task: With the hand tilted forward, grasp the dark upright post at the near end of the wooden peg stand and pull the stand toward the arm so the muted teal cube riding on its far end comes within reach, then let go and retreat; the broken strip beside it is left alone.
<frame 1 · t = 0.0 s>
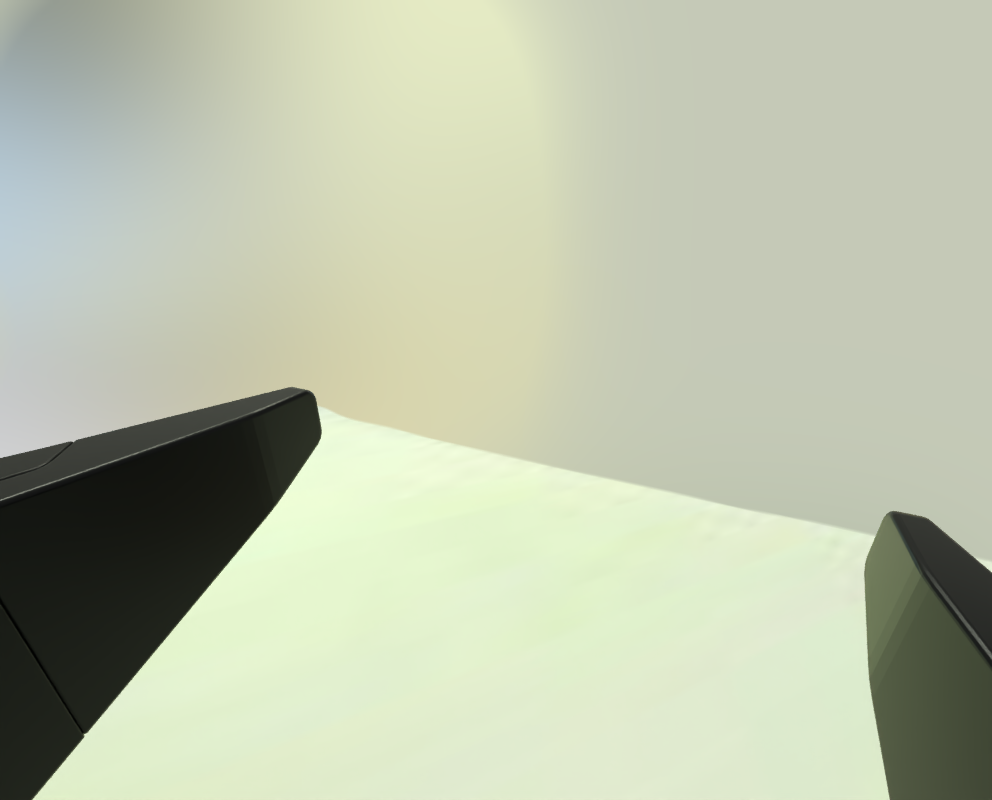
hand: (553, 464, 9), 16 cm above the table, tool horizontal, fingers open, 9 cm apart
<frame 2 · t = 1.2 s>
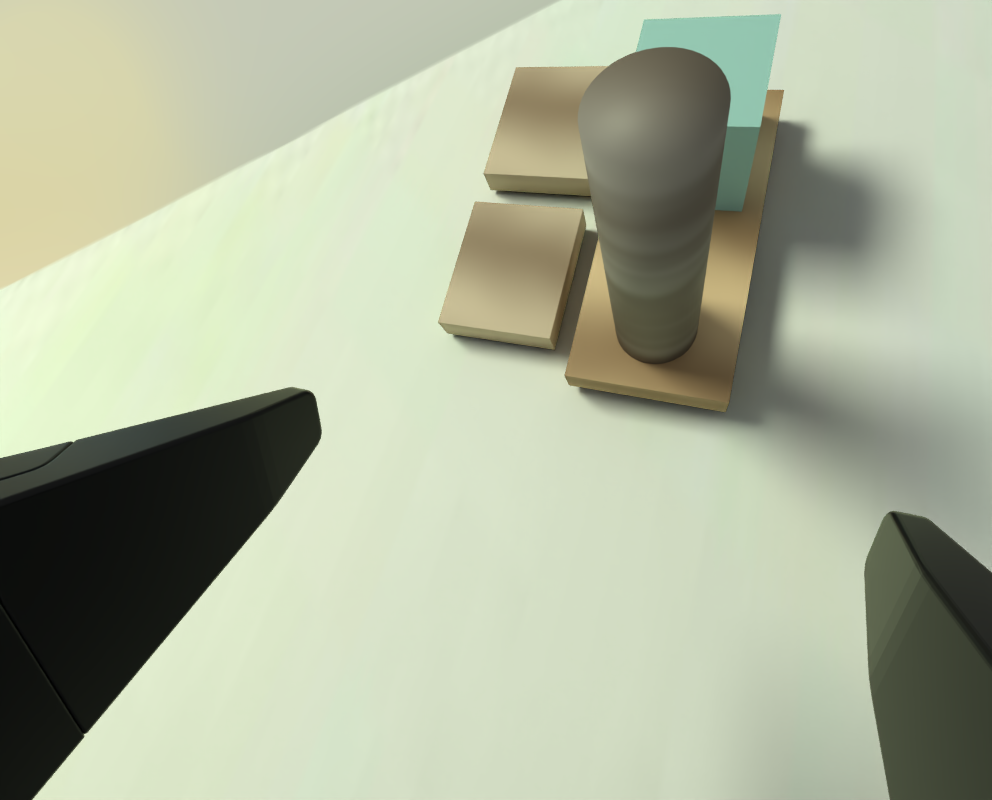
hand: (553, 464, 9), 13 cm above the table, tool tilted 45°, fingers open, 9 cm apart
cube: (691, 160, 23), point 1 cm above the table, touching wooden peg stand
broken strip: (505, 320, 25), on the table
wooden peg stand: (680, 142, 18), point 6 cm above the table, slide at 0.0 cm, touching cube
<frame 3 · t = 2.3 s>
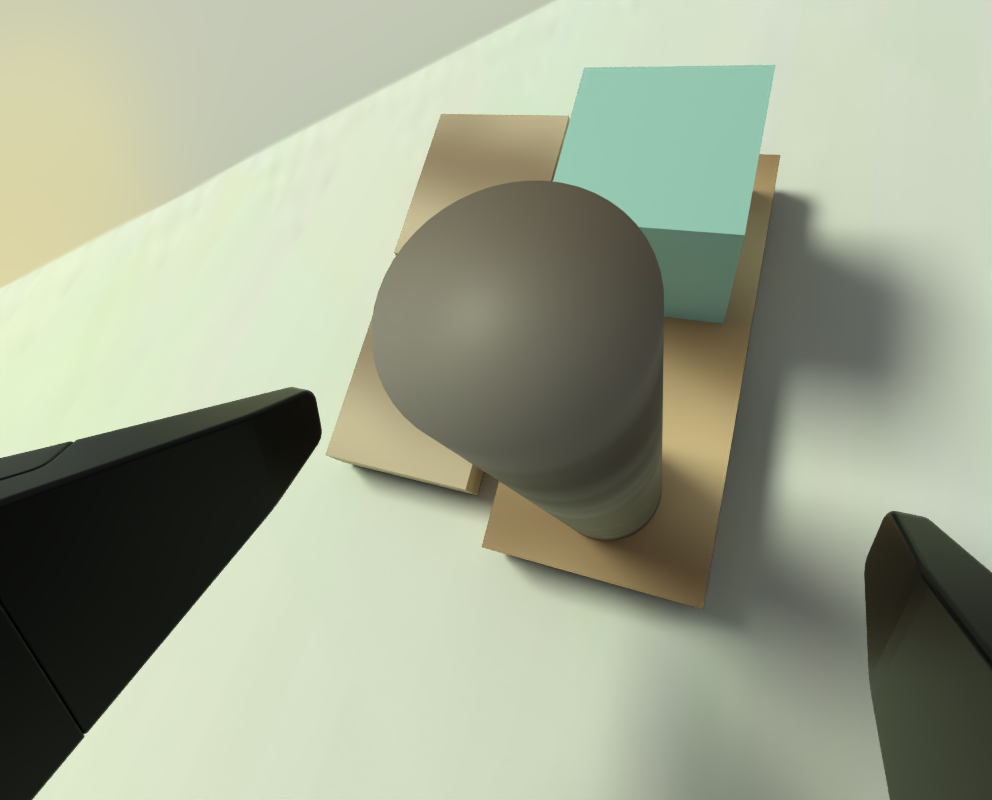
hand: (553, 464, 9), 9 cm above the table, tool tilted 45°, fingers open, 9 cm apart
cube: (657, 247, 18), point 1 cm above the table, touching wooden peg stand
broken strip: (416, 449, 19), on the table
wooden peg stand: (627, 256, 12), point 6 cm above the table, slide at 0.0 cm, touching cube
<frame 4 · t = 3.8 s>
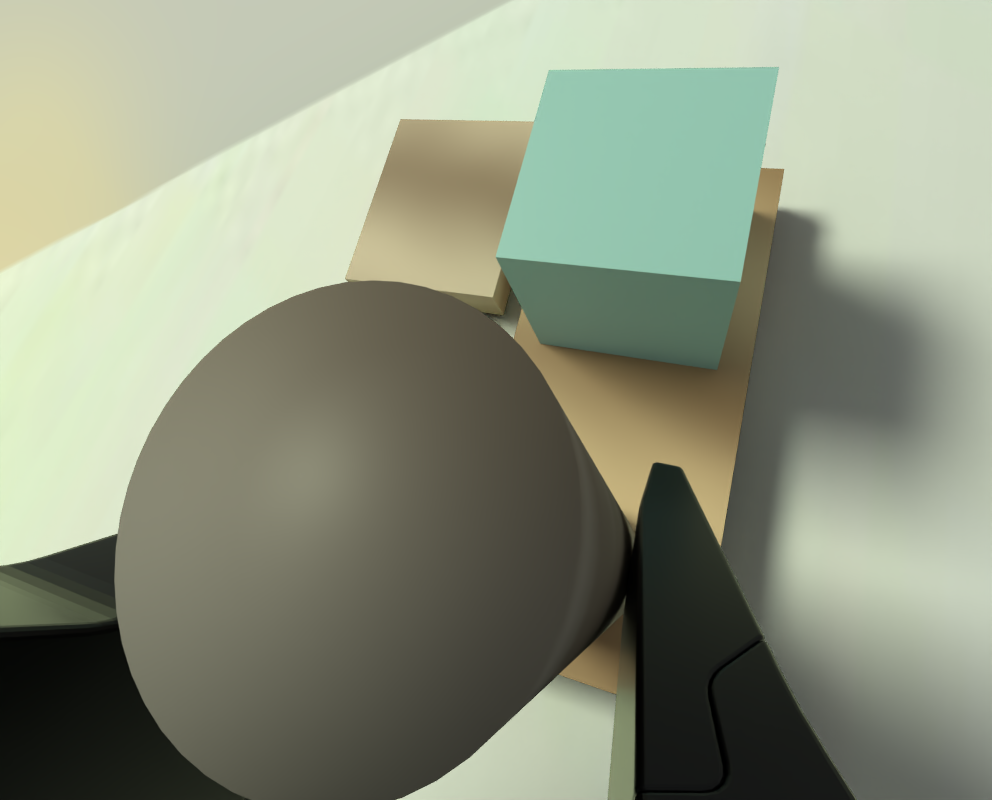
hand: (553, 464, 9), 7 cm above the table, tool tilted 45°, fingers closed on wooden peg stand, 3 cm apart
cube: (641, 277, 15), point 1 cm above the table, touching wooden peg stand
broken strip: (368, 505, 17), on the table
wooden peg stand: (594, 307, 10), point 6 cm above the table, slide at 0.0 cm, touching cube, gripper
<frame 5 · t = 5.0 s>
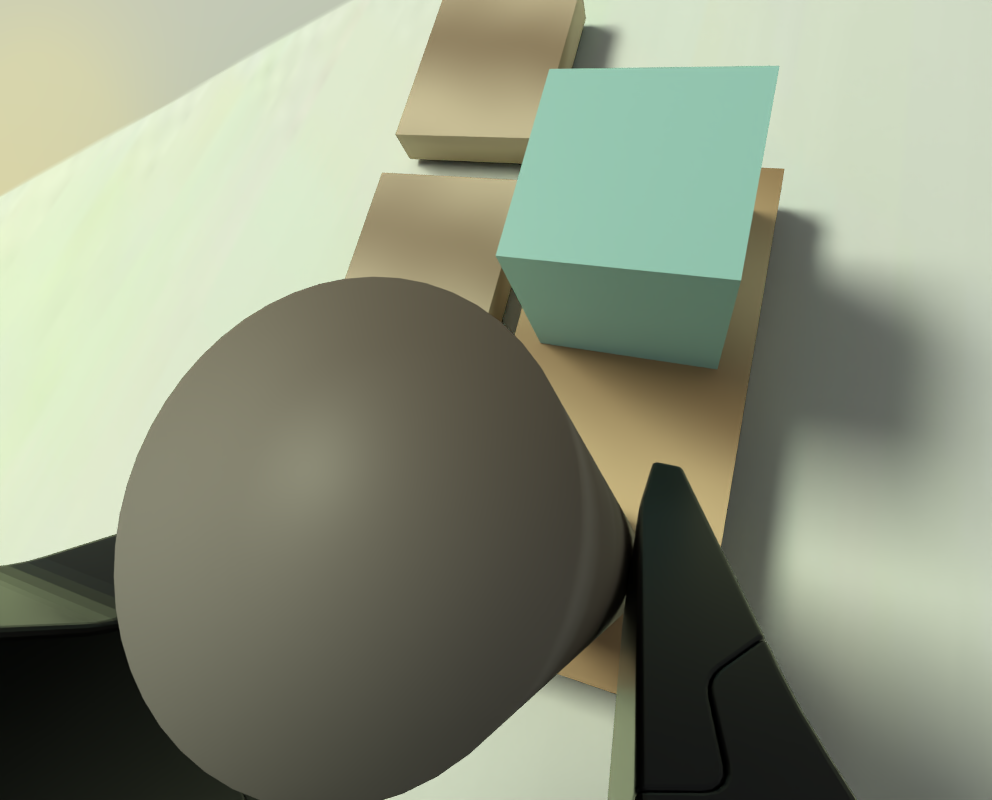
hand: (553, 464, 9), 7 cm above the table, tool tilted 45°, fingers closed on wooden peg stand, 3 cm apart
cube: (641, 276, 15), point 1 cm above the table, touching wooden peg stand
broken strip: (420, 336, 18), on the table
wooden peg stand: (594, 306, 10), point 6 cm above the table, slide at 5.4 cm, touching cube, gripper
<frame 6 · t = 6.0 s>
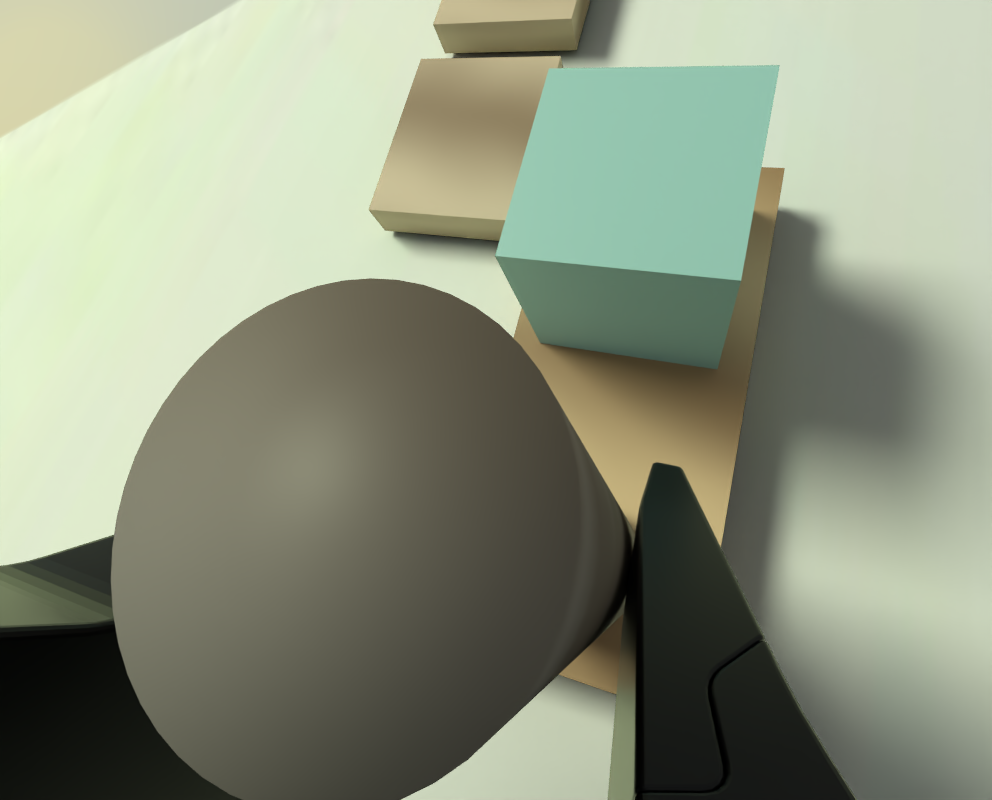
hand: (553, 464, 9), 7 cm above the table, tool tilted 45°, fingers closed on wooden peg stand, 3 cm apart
cube: (641, 276, 15), point 1 cm above the table, touching wooden peg stand
broken strip: (459, 209, 19), on the table
wooden peg stand: (594, 306, 10), point 6 cm above the table, slide at 10.0 cm, touching cube, gripper
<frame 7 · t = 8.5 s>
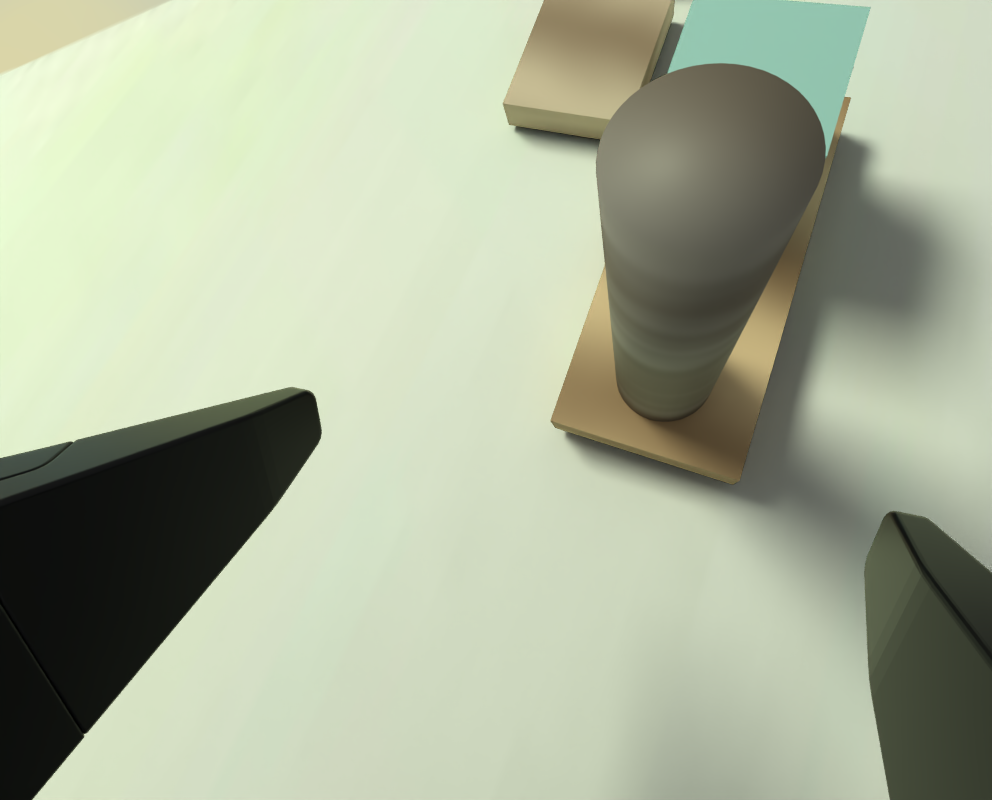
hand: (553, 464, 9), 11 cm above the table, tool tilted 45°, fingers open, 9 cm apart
cube: (729, 173, 19), point 1 cm above the table, touching wooden peg stand
broken strip: (574, 112, 23), on the table
wooden peg stand: (724, 165, 14), point 6 cm above the table, slide at 10.0 cm, touching cube
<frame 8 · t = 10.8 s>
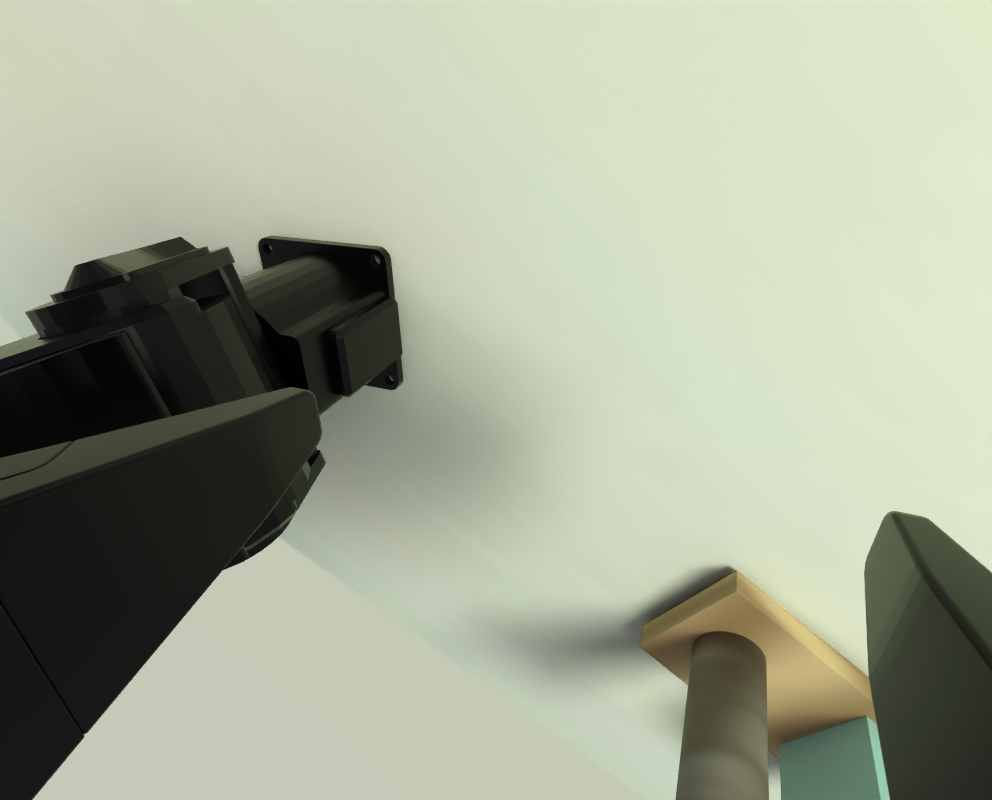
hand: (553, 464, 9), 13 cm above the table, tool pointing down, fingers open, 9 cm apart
cube: (860, 763, 25), point 1 cm above the table, touching wooden peg stand
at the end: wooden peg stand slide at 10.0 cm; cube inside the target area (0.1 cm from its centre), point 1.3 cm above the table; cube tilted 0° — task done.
